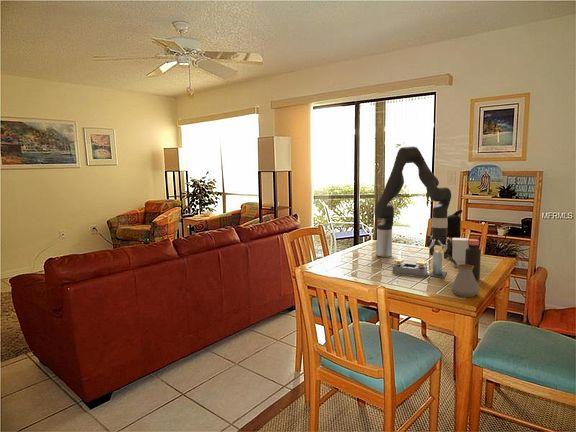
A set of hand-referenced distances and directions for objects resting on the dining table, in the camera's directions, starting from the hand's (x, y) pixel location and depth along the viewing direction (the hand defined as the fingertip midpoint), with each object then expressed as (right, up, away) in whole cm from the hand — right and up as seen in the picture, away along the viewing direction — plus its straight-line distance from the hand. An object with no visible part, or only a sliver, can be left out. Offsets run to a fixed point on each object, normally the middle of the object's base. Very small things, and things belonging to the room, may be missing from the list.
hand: (438, 256), depth 195 cm
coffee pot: (0, -13, -23) cm, 27 cm away
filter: (+20, -5, +33) cm, 39 cm away
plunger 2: (-8, -8, +3) cm, 12 cm away
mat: (0, -10, +1) cm, 10 cm away
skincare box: (+19, -7, +17) cm, 26 cm away
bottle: (+14, -11, -8) cm, 19 cm away
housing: (-13, -9, +6) cm, 17 cm away
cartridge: (0, -9, +1) cm, 9 cm away
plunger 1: (-19, -7, +9) cm, 22 cm away
